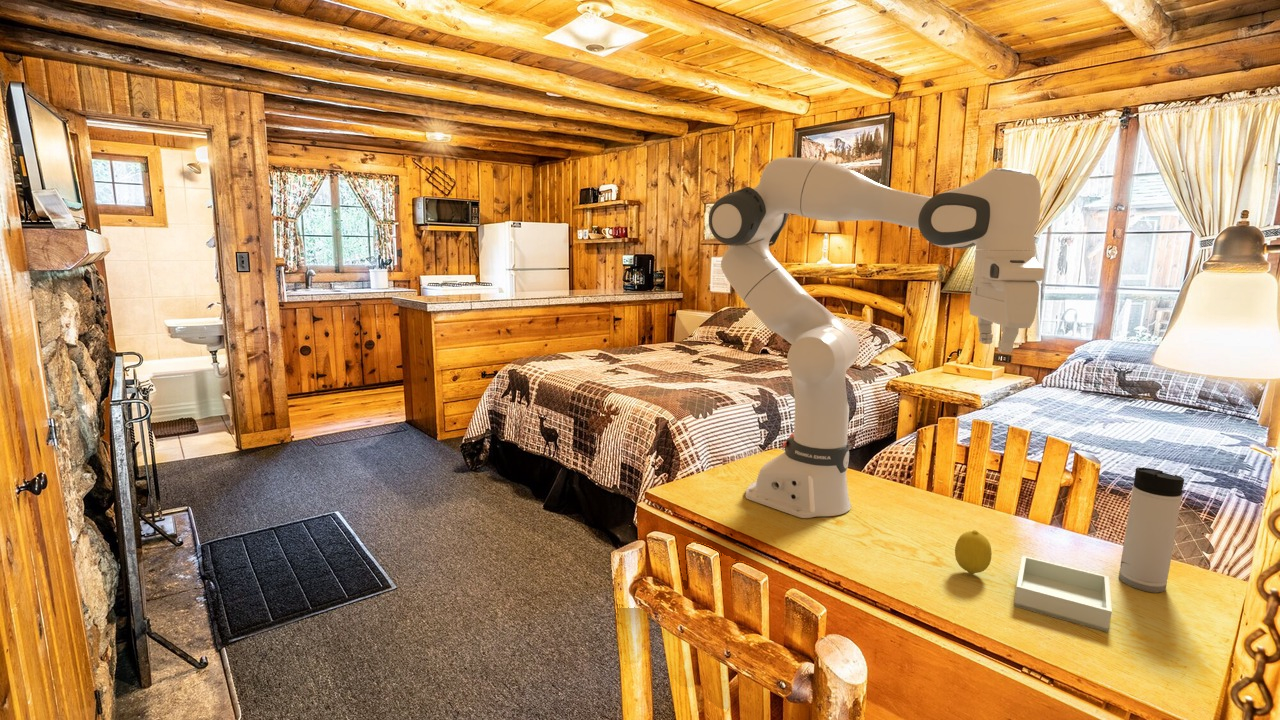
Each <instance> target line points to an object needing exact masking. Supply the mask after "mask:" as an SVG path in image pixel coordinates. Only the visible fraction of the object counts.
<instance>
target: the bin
mask: <svg viewBox="0 0 1280 720" xmlns="http://www.w3.org/2000/svg"><path fill="white" fill-rule="evenodd" d="M1110 585H1111V584H1110V576H1109V575H1105V574H1101V573H1097V572H1092V571H1088V570H1084V569H1080V568H1076V567H1073V566H1069V565H1068V566H1067V565H1064V564H1060V563H1055V562H1051V561H1047V560H1042V559H1039V558H1035V557H1031V556H1026V555H1024V554H1023V555H1021V562H1020V565H1019V572H1018V577H1017V581H1016V589H1015V594H1014V597H1015V598H1014V602H1013V603H1014V605H1013V607H1016V608H1018V609H1019V608H1020V609H1023V610H1027V611H1031V612H1033V613H1037V614H1040V615H1045V616H1049V617H1052V618H1055V619H1059V620H1062V621H1066V622H1069V623H1073V624H1076V625H1080V626H1084V627H1087V628H1090V629H1094V630H1098V631H1101V632H1105V633H1108V634H1109V631H1110V627H1111V625H1110V624H1111V618H1112V613H1113V612H1112V611H1113V610H1112V599H1111V596H1112V595H1111V587H1110Z"/></svg>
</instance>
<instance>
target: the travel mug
mask: <svg viewBox="0 0 1280 720" xmlns="http://www.w3.org/2000/svg"><path fill="white" fill-rule="evenodd" d="M1134 472H1135V473H1134V480H1133V484H1132V488H1131V494H1130V495H1131V497H1130V502H1129V508H1128V509H1129V510H1128V513H1127V514H1128V515H1127V521H1126V525H1125V526H1126V528H1125V534H1124V540H1123V547H1122V553H1121V560H1120V565H1119V572H1118V578H1119V580H1121V582H1123V583H1124V584H1125V585H1127V586H1129V587H1131V588H1134V589H1136V590H1140V591H1143V592H1148V593H1161V592H1164V591H1166V589H1167V586H1168V585H1167V584H1168V579H1169V574H1170V566H1171V560H1172V555H1173V550H1174V545H1175V538H1176V533H1177V532H1176V531H1177V527H1178V521H1179V515H1180V509H1181V502H1182V498H1183V497H1182V496H1183V488H1184V483H1185V478H1184V477H1182V476H1181V475H1177V474H1174V475H1173V474H1170V473H1167V472H1164V471H1163V470H1159V469H1154V468H1150V467H1136V468H1135V471H1134Z"/></svg>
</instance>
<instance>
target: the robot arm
mask: <svg viewBox="0 0 1280 720" xmlns="http://www.w3.org/2000/svg"><path fill="white" fill-rule="evenodd" d="M1041 189H1042V188H1041V183H1040V180H1039V178H1037V177H1036V175H1034V174H1033V173H1031V172H1029V171H1024V170H1021V169H1014V168H1000V167H999V168H993V169H990V170H989V171H987V172H986V173H985V174H984V175H982V176H980V177H978V178H977V179H974V180H973V181H970V182H969V183H967V184H965V185H961V186H959V187H956V188H954V189H950V190H946V191H944V192H941V193H938V194H936V195H934V196H926V195H923V194H917V193H913V192H907V191H903V190H899V189H895V188H891V187H888V186H886V185H883V184H880V183H878V182H876V181H874V180H873V179H870V178H869V177H866V176H865V175H863V174H861V173H858V172H857V171H854V170H852V169H850V168H848V167H845V166H843V165H839V164H836V163H832V162H829V161H825V160H821V159H820V160H819V159H814V158H806V157H778V158H777V157H776V158H775V159H773V160H771V161H770V162H768V163H767V165H766V166H765V168H764V169H763V171H762V173H761V176H760V179H759V182H758V184H757V185H756V186H755V187H753V188H752V187H750V186H745V187H743V188H741V189H738V190H735V191H732V192H729V193H727V194H726V195H723V196H722V197H721V198H719V199H717V201H715V202H714V204H713V205H712V207H711V208H710V211H709V213H708V226H709V227H708V228H709V230H710V233H711V234H712V236H713V237H714V238H715V239H716V240H717V241H718V242H720V243H722V244H724V245H728V246H729V247H728V248H727V249H726V251H725V252H724V253H723V256H722V258H721V262H720V268H721V271H722V273H723V274H724V276H725V278H726V280H727V282H728V283H729V285H730V286H731V287H732V289H733V290H734V291H735V293H736V294H737V295H738V297H740V299H741V300H742V301H743V302H744V303H745V305H746V306H747V307H748V308H749V309H750V310H751V311H752V312H753V314H754V315H756V317H757V318H758V319H759V320H760V321H761V323H762V324H763V325H764V326H765V327H766V328H767V329H768V330H769V331H771V332H774V333H775V334H777V335H779V336H780V337H781V338H783V340H785V341H786V342H787V343H789V344H791V346H790V347H789V349H788V352H787V355H786V356H787V357H786V359H787V360H786V362H787V366H788V367H787V368H788V369H789V371H790V373H791V382H792V388H793V389H792V390H793V397H794V425H793V426H794V427H793V433H792V434H790V435H789V436H788V438H787V439H785V441H784V442H783V443H782V446H781V449H784V452H783V453H781V454H780V455H777V456H776V457H774V458H772V459H771V460H769V461H768V462H766V463H765V464H764V465H762V467H761V468H760V470H759V472H758V475H757V477H756V480H755V481H754V482H752V483H750V484H749V486H748V487H747V488H746V490H745V496H744V497H745V498H746V499H747V500H749V501H752V502H755V503H757V504H760V505H764V506H767V507H769V508H771V509H775V510H778V511H780V512H783V513H786V514H789V515H792V516H794V517H797V518H800V519H810V518H815V517H833V516H839V515H843V514H846V513H847V512H849V511H850V510H851V508H852V505H851V501H850V497H849V496H850V495H849V490H848V489H849V488H848V480H847V470H848V467H849V461H850V460H849V459H850V451H849V450H850V443H849V442H848V435H849V433H848V432H849V417H850V405H849V402H848V396H847V386H846V384H847V382H846V381H847V380H846V375H847V370H848V369H849V368H850V367H852V366H853V365H854V363H855V362H856V361H857V358H858V356H859V354H860V353H859V352H860V341H859V336H858V335H857V333H856V332H855V331H854V330H853V329H852V328H851V327H850V326H848V325H846V324H845V323H844V322H843V321H842V320H840V318H838V317H837V316H836V315H835V314H833V313H832V312H831V311H830V310H829V309H827V308H826V306H824V305H823V304H821V303H820V302H819V301H817V299H815V298H814V297H813V296H811V295H810V294H809V293H808V292H807V290H805V289H804V288H803V287H802V286H801V285H800V284H799V282H798V281H797V280H796V279H795V277H793V276H792V274H790V273H789V272H788V271H787V270H786V268H784V266H783V265H782V264H781V263H780V262H779V261H778V260H777V259H776V258H775V257H774V256H773V254H772V253H771V251H770V247H771V246H774V245H775V244H776V242H777V240H778V238H779V236H780V233H781V231H783V229H784V227H785V225H786V224H787V221H788V218H789V214H791V215H796V216H798V217H799V216H800V217H802V218H808V219H812V220H818V221H827V222H854V221H857V222H858V221H876V222H877V221H878V222H885V223H889V224H895V225H899V226H903V227H907V228H912V229H915V230H916V229H917V230H919V232H920V234H921V235H922V237H923V238H924V239H925V240H926V241H927V242H929V243H931V244H932V245H935V246H938V247H941V248H952V249H959V250H963V249H969V248H972V247H975V255H974V263H973V264H974V265H973V273H972V274H973V277H974V279H973V281H972V285H971V291H970V292H971V293H970V298H969V305H968V306H969V307H968V308H969V314H970V315H971V316H973V317H977V327H978V333H979V337H978V342H979V343H981V344H983V345H991V344H992V343H993V337H994V334H993V331H992V325H993V323H994V324H997V325H999V326H1001V331H1000V332H1002V334H1001V338H1000V340H998V343H997V351H999V352H1000V353H1004V354H1011V353H1012V352H1013V350H1014V343H1015V341H1016V339H1017V337H1018V335H1019V330H1020V329H1030V328H1031V326H1032V325H1033V323H1034V321H1035V317H1036V313H1037V308H1038V302H1039V295H1040V285H1039V282H1042V281H1043V280H1044V276H1045V268H1044V266H1043V265H1042V264H1040V262H1038V259H1037V257H1036V249H1037V246H1036V242H1035V237H1036V236H1035V235H1036V231H1037V228H1038V226H1039V223H1040V214H1041V201H1042V200H1041V198H1042V194H1041V192H1042V190H1041Z"/></svg>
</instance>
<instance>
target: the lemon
mask: <svg viewBox="0 0 1280 720" xmlns="http://www.w3.org/2000/svg"><path fill="white" fill-rule="evenodd" d="M992 554H993V552H992V545H991V543H990V541H989V539H988V538H987V537H986V536H985V535H984V534H982V533H980V532H979V531H978V530H972V531H966V532H963V533H962V534H961V535H960V536H959V537H958V539H957V541H956V544H955V547H954V556H955V560H956V562H957V564H958V565H959V566H960V568H962V569H963V570H964V571H966V573H968V574H969V575H974V574H979V573H982V572H984V571H986V569H987V568H988V567H989V566H990V563H991V561H992Z"/></svg>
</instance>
